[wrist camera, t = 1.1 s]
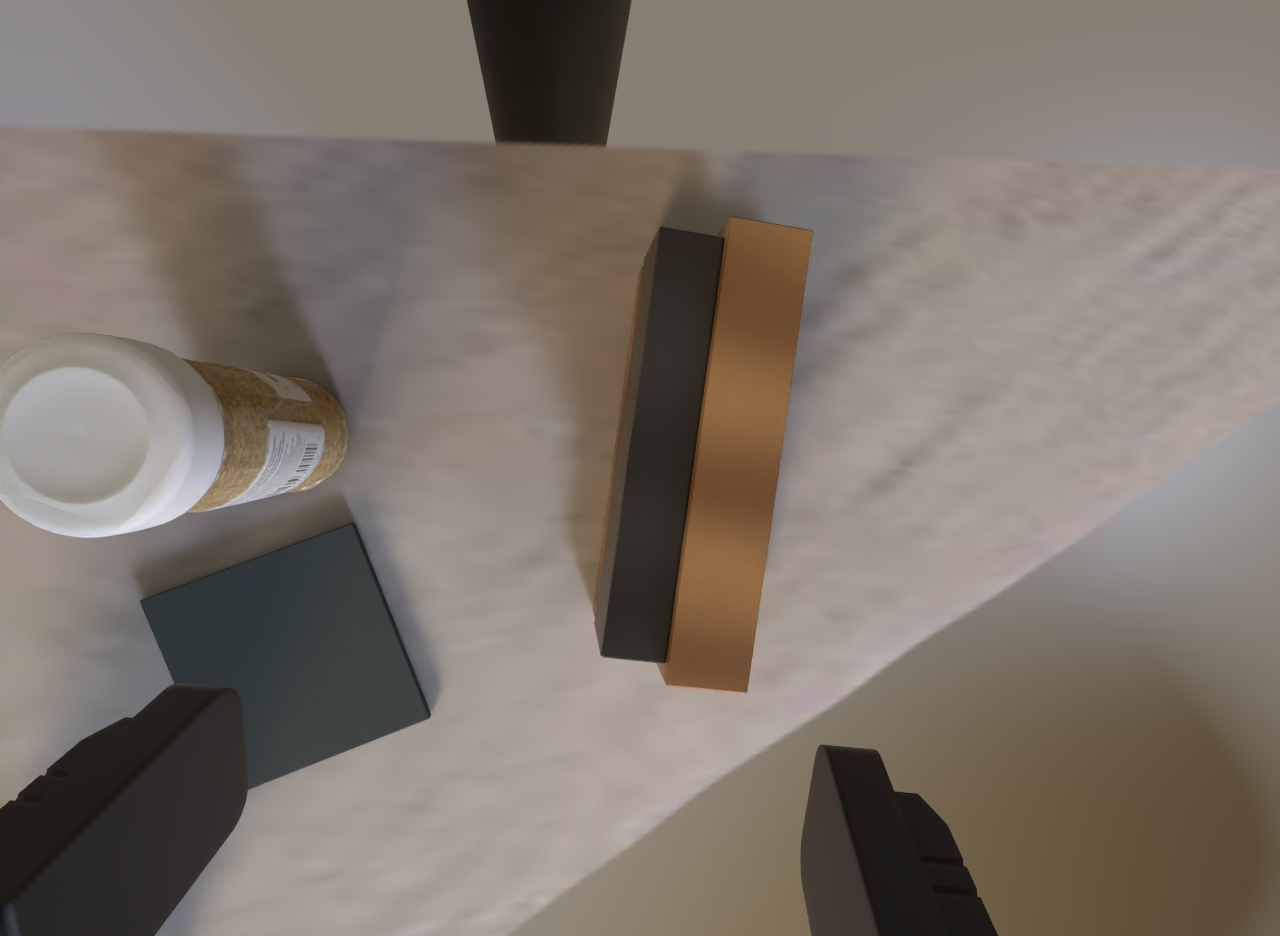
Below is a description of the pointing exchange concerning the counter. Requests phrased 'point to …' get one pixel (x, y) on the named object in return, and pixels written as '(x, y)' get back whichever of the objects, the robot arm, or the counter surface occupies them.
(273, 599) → the mat
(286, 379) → the sprinkles bottle
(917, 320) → the counter surface
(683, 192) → the counter surface
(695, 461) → the magnetic knife rack
